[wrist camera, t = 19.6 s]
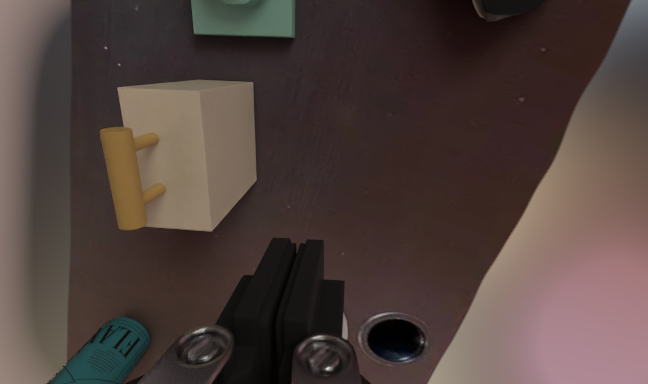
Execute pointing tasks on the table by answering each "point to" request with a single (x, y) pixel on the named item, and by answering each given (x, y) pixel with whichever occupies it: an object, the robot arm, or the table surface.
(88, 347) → the beverage bottle
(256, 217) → the table surface
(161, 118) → the clock
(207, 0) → the switch box
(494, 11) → the black sponge
